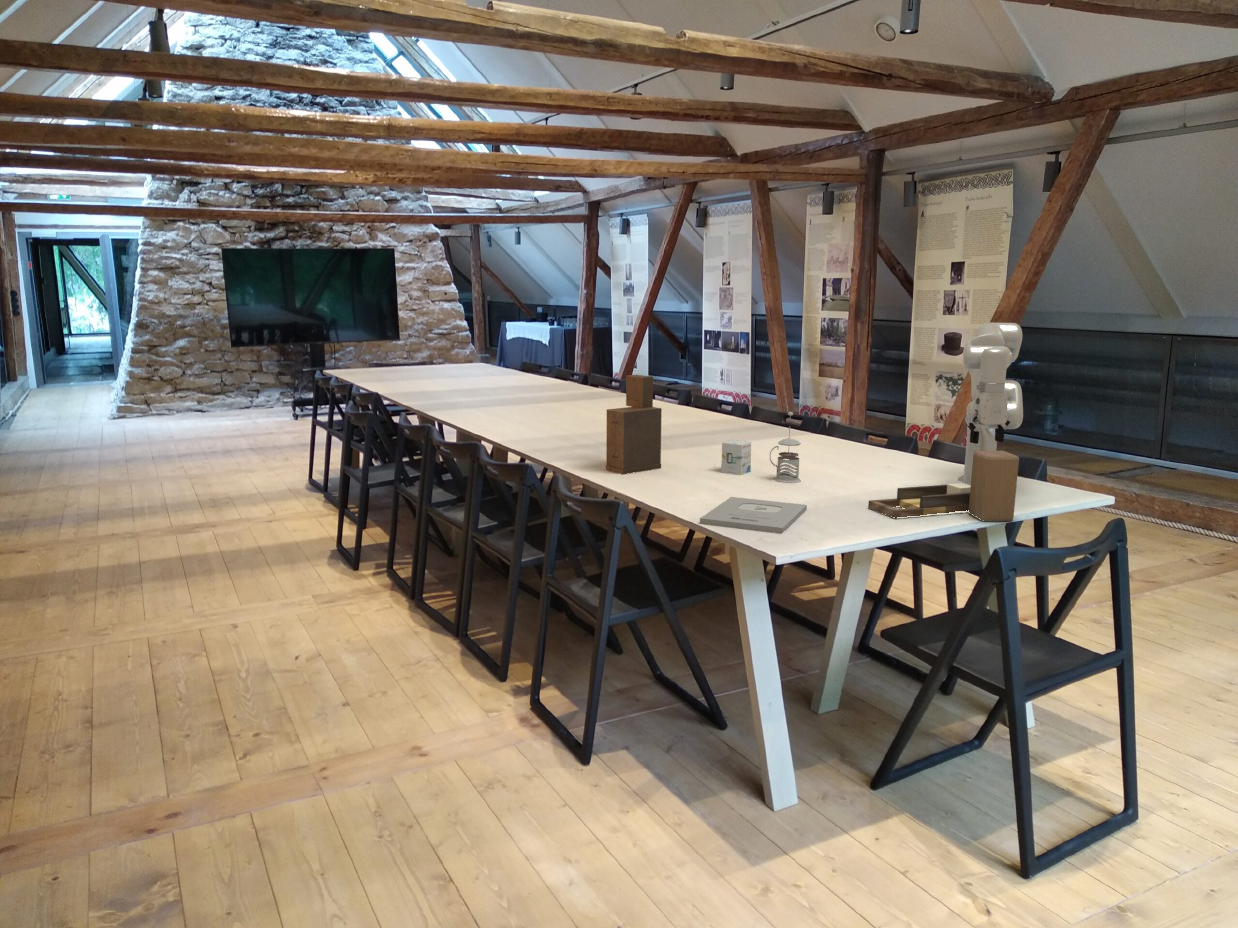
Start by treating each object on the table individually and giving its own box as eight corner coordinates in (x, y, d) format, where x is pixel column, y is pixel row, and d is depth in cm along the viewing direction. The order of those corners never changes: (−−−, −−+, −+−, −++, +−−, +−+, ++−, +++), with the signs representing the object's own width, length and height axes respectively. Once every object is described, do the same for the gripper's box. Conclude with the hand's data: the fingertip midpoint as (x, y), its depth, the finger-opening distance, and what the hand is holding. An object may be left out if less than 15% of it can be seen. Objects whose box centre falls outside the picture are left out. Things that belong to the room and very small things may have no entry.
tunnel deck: (868, 508, 272) (869, 489, 270) (960, 500, 282) (962, 482, 281) (894, 519, 258) (896, 499, 257) (990, 510, 269) (992, 492, 268)
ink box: (731, 469, 331) (731, 439, 329) (751, 471, 327) (752, 441, 324) (720, 472, 325) (721, 442, 322) (741, 475, 320) (742, 444, 318)
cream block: (946, 497, 275) (947, 484, 274) (961, 496, 277) (963, 483, 276) (958, 502, 270) (960, 488, 269) (974, 500, 271) (976, 487, 270)
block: (998, 513, 266) (1004, 449, 262) (1014, 522, 256) (1020, 456, 252) (966, 513, 266) (972, 450, 262) (981, 522, 256) (987, 456, 252)
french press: (801, 483, 306) (804, 414, 301) (768, 482, 309) (771, 413, 304) (801, 478, 316) (804, 410, 311) (769, 476, 318) (771, 409, 313)
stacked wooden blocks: (637, 462, 343) (638, 374, 336) (661, 468, 332) (662, 377, 325) (599, 468, 331) (599, 377, 324) (623, 474, 320) (623, 380, 313)
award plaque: (699, 525, 253) (700, 518, 252) (730, 503, 279) (731, 496, 279) (782, 535, 243) (782, 527, 242) (806, 511, 269) (806, 504, 269)
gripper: (977, 390, 262) (972, 445, 266) (1022, 388, 267) (1017, 442, 271) (960, 387, 269) (955, 441, 273) (1005, 386, 274) (1000, 438, 278)
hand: (986, 442), depth 272 cm, fingers open, 9 cm apart
